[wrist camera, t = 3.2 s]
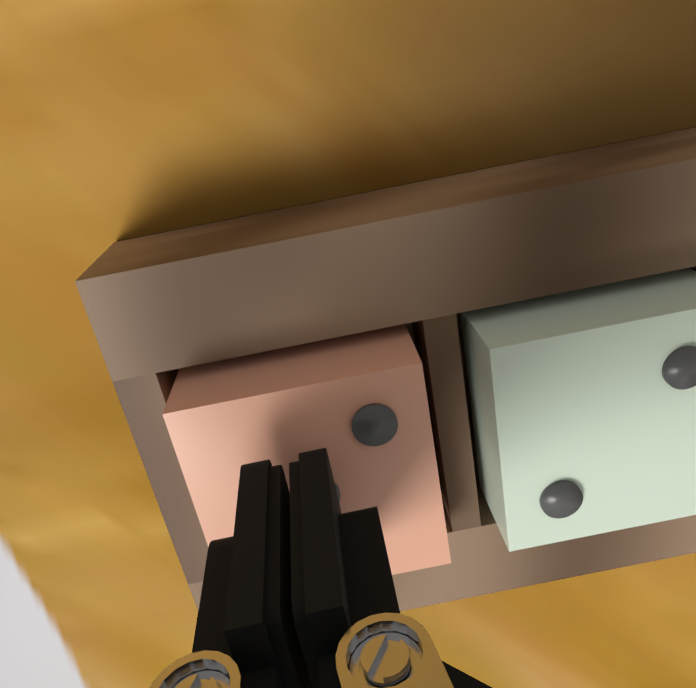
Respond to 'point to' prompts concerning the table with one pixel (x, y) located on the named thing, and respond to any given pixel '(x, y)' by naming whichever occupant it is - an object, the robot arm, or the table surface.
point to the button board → (399, 318)
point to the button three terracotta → (318, 433)
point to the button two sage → (586, 408)
